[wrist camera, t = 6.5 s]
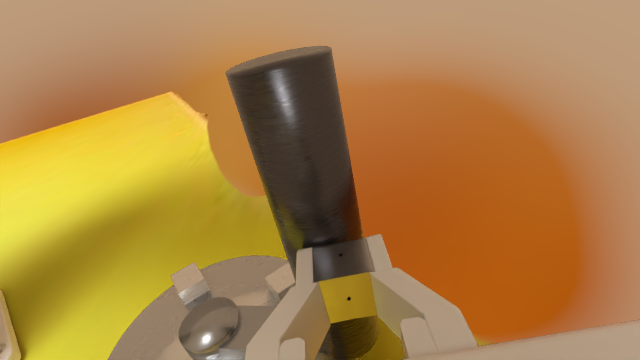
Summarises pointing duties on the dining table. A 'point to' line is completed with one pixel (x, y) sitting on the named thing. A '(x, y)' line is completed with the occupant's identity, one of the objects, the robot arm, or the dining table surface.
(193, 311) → the disc with upright handle
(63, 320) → the dining table surface
